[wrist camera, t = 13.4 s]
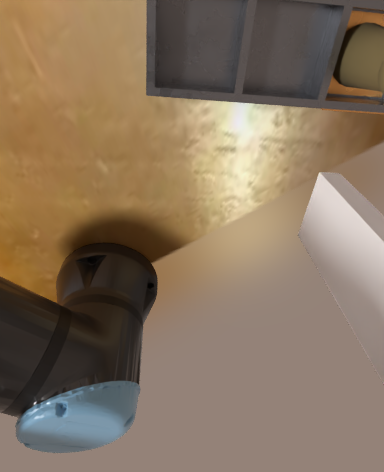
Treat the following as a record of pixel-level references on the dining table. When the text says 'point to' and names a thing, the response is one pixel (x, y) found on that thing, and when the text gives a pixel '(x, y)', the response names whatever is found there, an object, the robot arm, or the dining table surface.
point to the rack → (256, 51)
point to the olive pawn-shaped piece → (362, 58)
